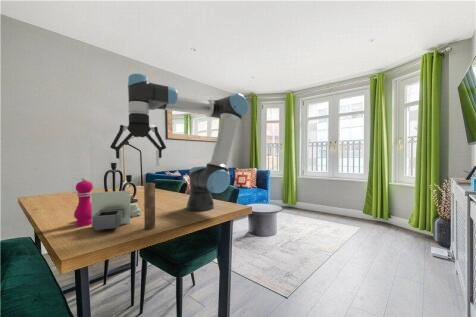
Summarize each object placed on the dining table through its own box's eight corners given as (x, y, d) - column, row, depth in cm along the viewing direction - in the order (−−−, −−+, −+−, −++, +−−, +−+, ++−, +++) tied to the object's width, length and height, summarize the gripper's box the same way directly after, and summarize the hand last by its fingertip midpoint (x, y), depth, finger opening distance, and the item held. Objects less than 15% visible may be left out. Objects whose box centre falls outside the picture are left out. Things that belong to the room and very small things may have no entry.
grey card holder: (130, 222, 93) (130, 190, 93) (127, 231, 82) (127, 195, 82) (92, 226, 88) (92, 192, 88) (84, 236, 77) (83, 197, 77)
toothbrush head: (79, 212, 97) (139, 199, 107) (82, 226, 97) (141, 212, 107) (76, 214, 92) (139, 201, 102) (79, 229, 92) (141, 215, 103)
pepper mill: (71, 227, 86) (71, 178, 86) (76, 222, 93) (76, 177, 93) (92, 225, 89) (92, 177, 89) (96, 220, 96) (96, 176, 95)
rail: (155, 225, 88) (154, 182, 88) (155, 228, 85) (155, 183, 84) (144, 227, 87) (144, 183, 87) (144, 230, 83) (144, 184, 83)
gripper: (169, 117, 95) (170, 165, 95) (103, 113, 83) (104, 167, 84) (172, 114, 88) (173, 165, 88) (101, 109, 77) (102, 168, 77)
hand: (139, 166), depth 86 cm, fingers open, 13 cm apart
